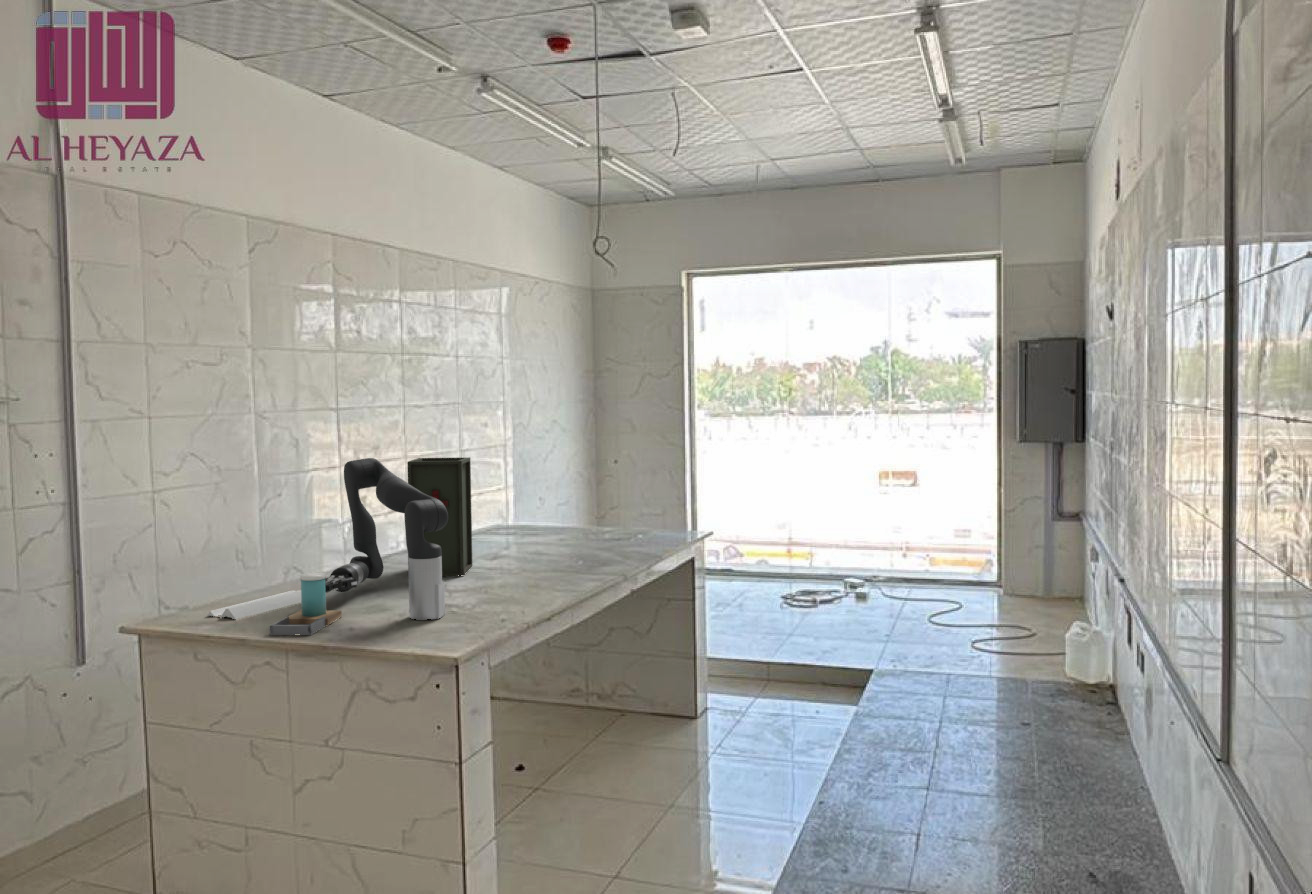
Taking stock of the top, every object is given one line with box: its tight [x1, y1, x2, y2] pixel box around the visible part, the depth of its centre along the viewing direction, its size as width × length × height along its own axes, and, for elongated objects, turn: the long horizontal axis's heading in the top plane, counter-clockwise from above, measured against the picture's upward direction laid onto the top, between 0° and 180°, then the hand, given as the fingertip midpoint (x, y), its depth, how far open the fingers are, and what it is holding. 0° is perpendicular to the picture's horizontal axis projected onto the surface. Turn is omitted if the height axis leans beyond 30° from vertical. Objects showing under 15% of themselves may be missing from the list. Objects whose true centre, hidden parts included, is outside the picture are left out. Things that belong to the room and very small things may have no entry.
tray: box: [269, 616, 326, 636], centre depth 254 cm, size 11×10×3 cm
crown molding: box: [206, 589, 301, 620], centre depth 283 cm, size 31×12×4 cm, turn 155°
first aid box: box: [407, 457, 473, 577], centre depth 335 cm, size 18×18×40 cm
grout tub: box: [299, 572, 327, 617], centre depth 264 cm, size 7×7×11 cm
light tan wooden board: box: [288, 610, 342, 626], centre depth 263 cm, size 12×10×2 cm
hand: (324, 588), depth 271 cm, fingers closed
